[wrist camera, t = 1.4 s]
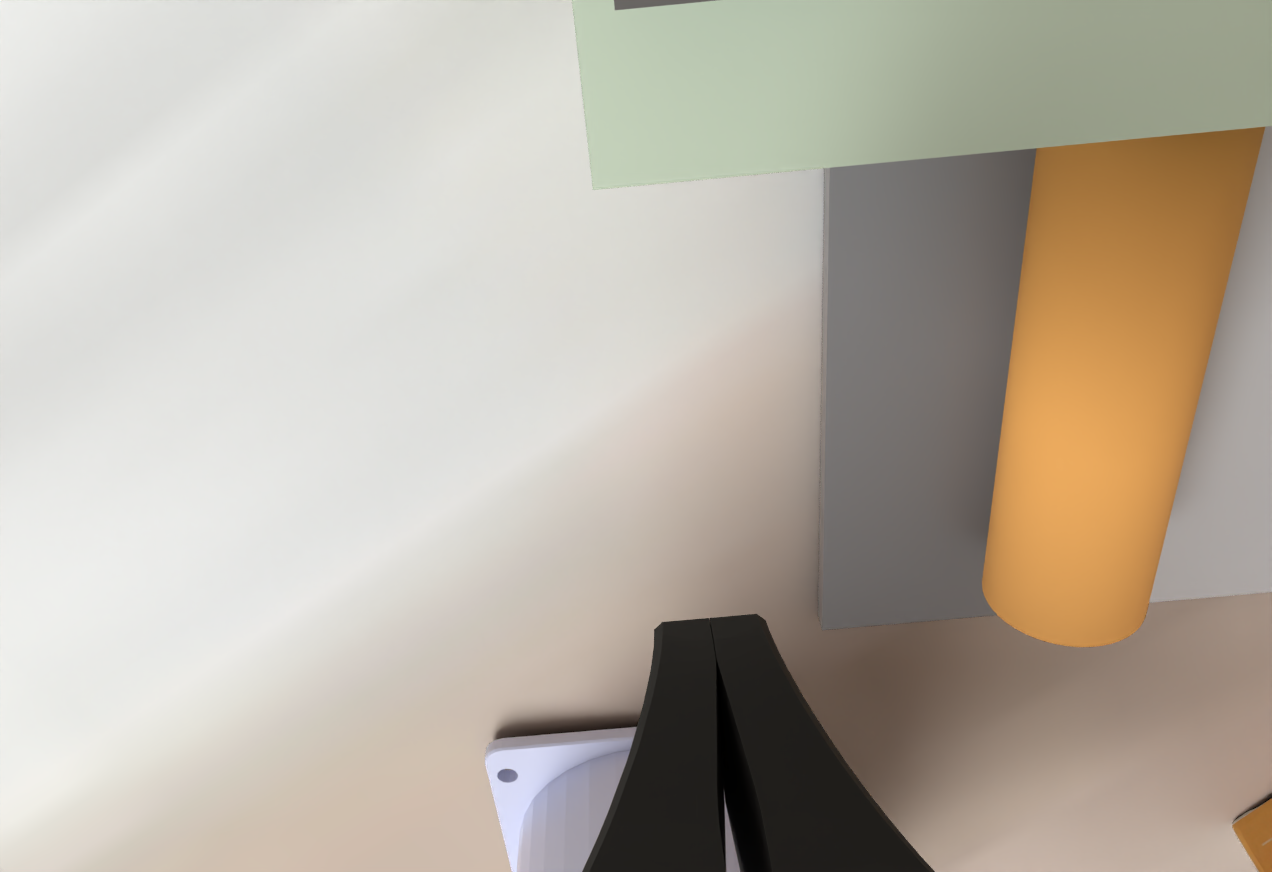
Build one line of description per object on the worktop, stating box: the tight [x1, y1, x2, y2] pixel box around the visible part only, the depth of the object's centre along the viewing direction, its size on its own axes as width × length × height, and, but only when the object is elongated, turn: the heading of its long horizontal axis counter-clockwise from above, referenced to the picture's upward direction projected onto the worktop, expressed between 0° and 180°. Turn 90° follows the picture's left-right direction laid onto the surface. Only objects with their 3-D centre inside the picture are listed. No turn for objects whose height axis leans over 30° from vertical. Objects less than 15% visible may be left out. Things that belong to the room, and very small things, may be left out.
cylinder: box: [982, 127, 1265, 647], centre depth 19 cm, size 10×3×3 cm, turn 5°
